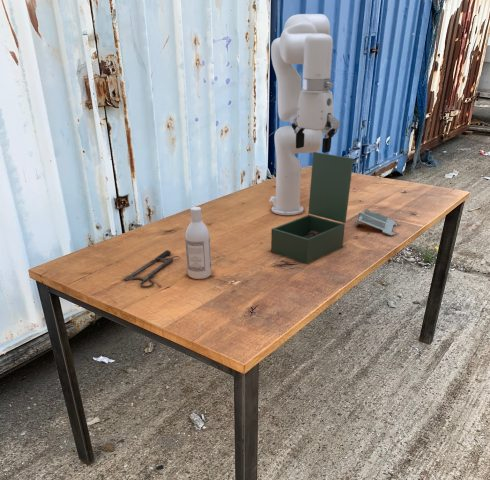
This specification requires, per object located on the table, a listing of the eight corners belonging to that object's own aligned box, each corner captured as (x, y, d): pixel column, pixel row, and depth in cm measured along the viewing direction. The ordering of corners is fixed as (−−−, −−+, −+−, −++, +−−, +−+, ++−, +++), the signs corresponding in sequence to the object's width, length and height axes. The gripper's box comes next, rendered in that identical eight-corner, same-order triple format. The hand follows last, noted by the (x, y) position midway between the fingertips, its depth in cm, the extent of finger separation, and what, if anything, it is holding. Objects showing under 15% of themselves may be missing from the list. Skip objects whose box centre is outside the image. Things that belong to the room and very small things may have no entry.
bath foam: (199, 267, 152) (195, 202, 142) (216, 273, 148) (213, 207, 138) (183, 275, 148) (177, 208, 138) (199, 281, 144) (195, 213, 134)
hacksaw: (166, 253, 163) (166, 248, 162) (194, 258, 159) (193, 253, 158) (119, 282, 144) (118, 277, 144) (148, 288, 140) (148, 284, 140)
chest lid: (352, 158, 152) (361, 156, 155) (313, 152, 161) (323, 150, 164) (344, 223, 161) (353, 220, 165) (308, 213, 170) (317, 210, 173)
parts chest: (306, 264, 154) (308, 239, 150) (271, 251, 163) (271, 228, 159) (342, 247, 166) (344, 224, 162) (307, 236, 174) (308, 214, 171)
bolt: (322, 246, 169) (294, 257, 159) (313, 236, 170) (284, 246, 161) (331, 234, 165) (302, 244, 155) (321, 223, 166) (292, 233, 157)
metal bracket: (357, 216, 174) (362, 204, 186) (350, 231, 177) (356, 218, 190) (396, 231, 172) (399, 218, 184) (389, 246, 175) (393, 232, 188)
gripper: (350, 86, 137) (344, 151, 145) (300, 83, 147) (297, 144, 156) (333, 88, 132) (329, 156, 141) (283, 85, 143) (282, 148, 151)
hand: (312, 149), depth 148 cm, fingers open, 9 cm apart
